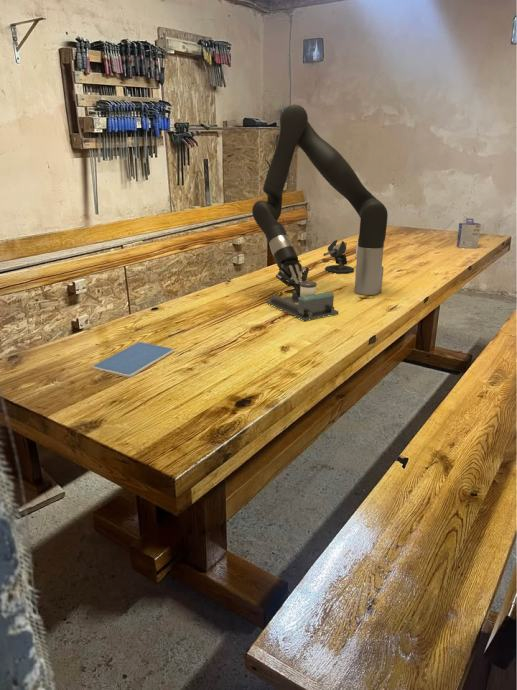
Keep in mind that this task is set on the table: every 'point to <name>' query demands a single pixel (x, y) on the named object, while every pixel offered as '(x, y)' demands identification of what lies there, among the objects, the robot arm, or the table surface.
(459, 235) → the ink cartridge box
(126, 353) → the tablet computer
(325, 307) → the knob mount
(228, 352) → the table surface
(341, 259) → the gun turret
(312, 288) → the knob carriage
